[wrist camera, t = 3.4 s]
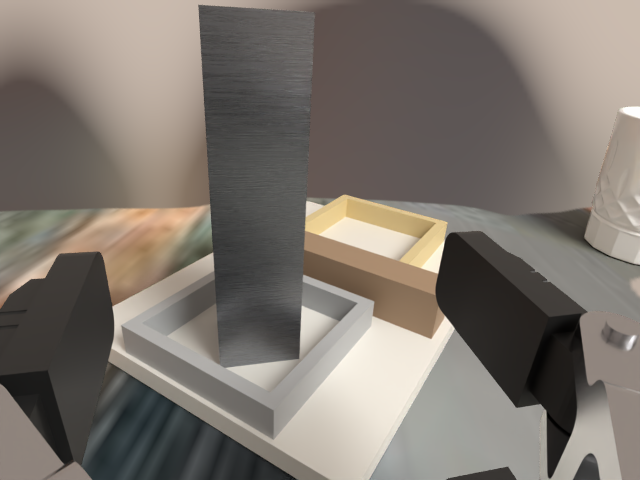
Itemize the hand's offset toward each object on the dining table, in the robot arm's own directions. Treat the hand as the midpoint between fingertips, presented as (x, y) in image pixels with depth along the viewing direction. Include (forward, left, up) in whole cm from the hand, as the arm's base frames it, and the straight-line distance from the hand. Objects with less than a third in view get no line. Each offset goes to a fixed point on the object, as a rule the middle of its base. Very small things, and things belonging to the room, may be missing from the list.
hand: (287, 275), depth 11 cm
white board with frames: (-6, +12, -9) cm, 16 cm away
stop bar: (-6, +6, -9) cm, 12 cm away
